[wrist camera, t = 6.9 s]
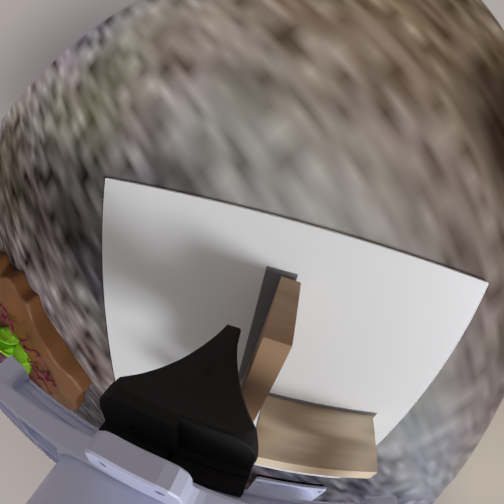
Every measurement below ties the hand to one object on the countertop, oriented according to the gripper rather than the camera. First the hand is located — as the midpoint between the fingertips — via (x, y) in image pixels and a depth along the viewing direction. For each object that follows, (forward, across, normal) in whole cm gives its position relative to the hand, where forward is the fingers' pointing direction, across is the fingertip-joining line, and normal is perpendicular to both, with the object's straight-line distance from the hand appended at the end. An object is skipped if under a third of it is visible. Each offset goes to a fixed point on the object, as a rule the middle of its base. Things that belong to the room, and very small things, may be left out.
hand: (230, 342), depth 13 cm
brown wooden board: (+2, -2, +1) cm, 3 cm away
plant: (+3, +24, +15) cm, 29 cm away
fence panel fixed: (+2, -6, +6) cm, 8 cm away
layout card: (+2, -2, +6) cm, 6 cm away
